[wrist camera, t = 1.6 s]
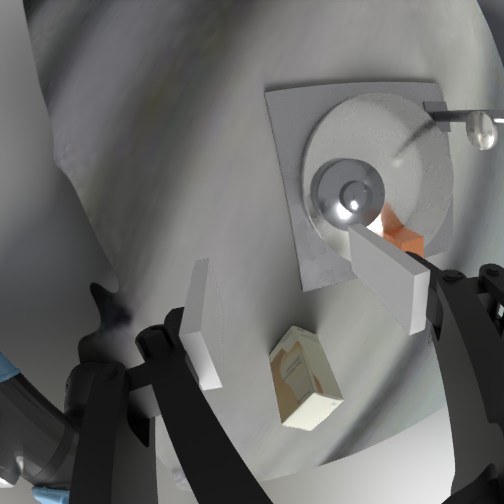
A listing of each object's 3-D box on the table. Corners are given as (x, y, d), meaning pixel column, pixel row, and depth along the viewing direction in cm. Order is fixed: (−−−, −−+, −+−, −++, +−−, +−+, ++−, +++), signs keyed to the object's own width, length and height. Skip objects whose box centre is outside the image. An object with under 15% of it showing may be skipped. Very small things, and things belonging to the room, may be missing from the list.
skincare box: (291, 323, 38) (315, 390, 26) (317, 334, 39) (347, 398, 27) (266, 357, 39) (280, 426, 28) (291, 366, 40) (311, 432, 29)
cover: (315, 230, 30) (328, 242, 27) (304, 163, 28) (316, 166, 24) (374, 216, 31) (393, 227, 27) (366, 153, 28) (386, 155, 24)
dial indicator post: (426, 144, 31) (501, 153, 19) (419, 101, 29) (493, 95, 17) (447, 142, 31) (520, 151, 19) (441, 102, 29) (514, 98, 17)
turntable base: (302, 289, 36) (304, 293, 35) (264, 93, 28) (265, 91, 27) (448, 247, 36) (453, 249, 35) (435, 84, 28) (440, 83, 27)
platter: (315, 280, 34) (329, 303, 29) (283, 102, 27) (295, 94, 22) (447, 242, 34) (472, 256, 29) (435, 93, 27) (463, 90, 22)
